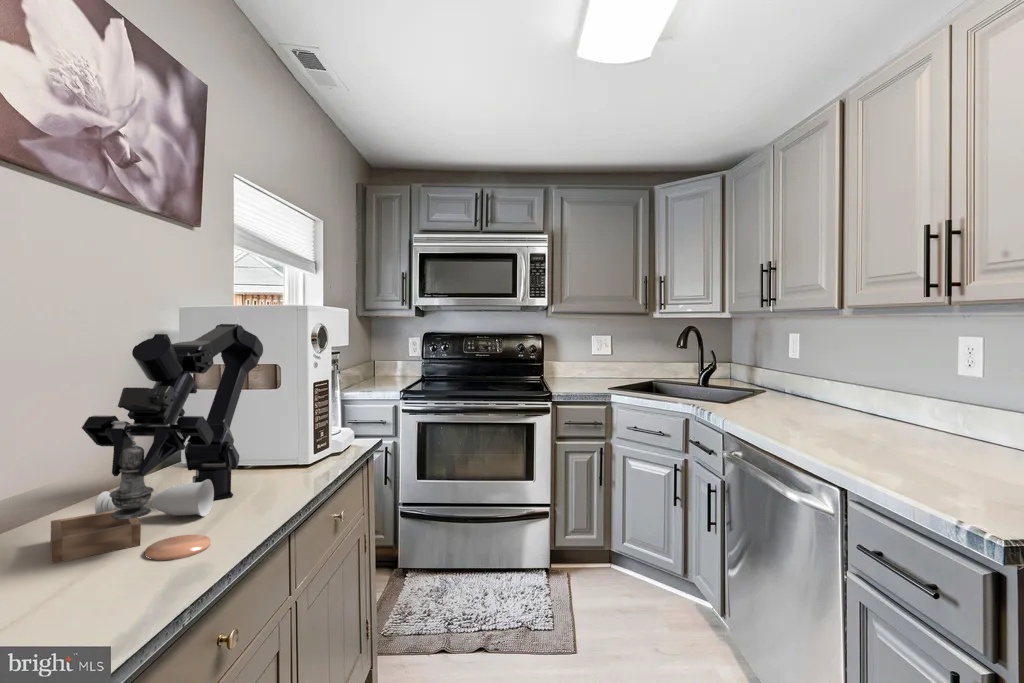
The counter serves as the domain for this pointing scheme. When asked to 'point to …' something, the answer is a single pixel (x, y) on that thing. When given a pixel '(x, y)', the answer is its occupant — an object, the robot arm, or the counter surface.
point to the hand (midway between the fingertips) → (127, 475)
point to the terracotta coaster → (177, 547)
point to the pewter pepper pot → (131, 486)
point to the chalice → (172, 499)
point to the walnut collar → (92, 535)
